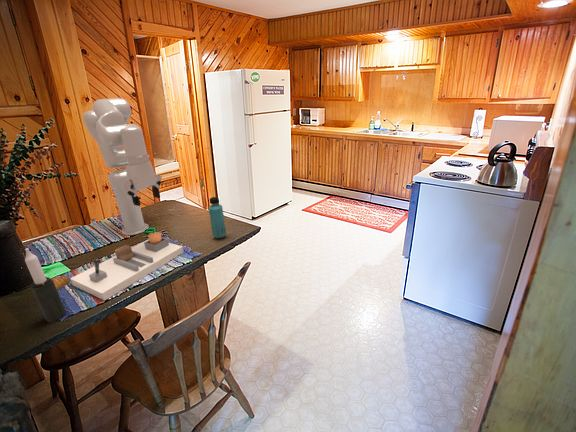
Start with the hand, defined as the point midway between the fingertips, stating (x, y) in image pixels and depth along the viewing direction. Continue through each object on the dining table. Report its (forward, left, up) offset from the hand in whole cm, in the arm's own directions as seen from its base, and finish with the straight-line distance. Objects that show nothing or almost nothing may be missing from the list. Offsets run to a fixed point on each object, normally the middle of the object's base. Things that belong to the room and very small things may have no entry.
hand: (147, 201), depth 125 cm
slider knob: (-3, -13, -21) cm, 25 cm away
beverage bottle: (+15, +23, -24) cm, 36 cm away
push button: (0, 0, -19) cm, 19 cm away
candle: (+3, -43, -24) cm, 50 cm away
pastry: (-16, -35, -25) cm, 46 cm away
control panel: (0, -13, -24) cm, 28 cm away
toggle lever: (0, -26, -19) cm, 32 cm away
